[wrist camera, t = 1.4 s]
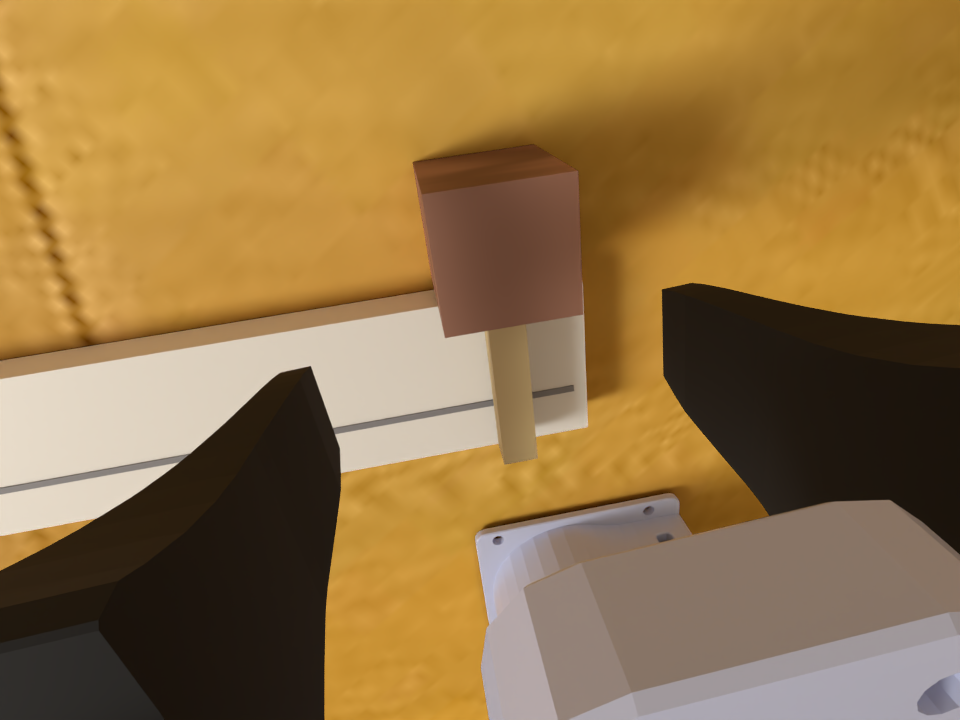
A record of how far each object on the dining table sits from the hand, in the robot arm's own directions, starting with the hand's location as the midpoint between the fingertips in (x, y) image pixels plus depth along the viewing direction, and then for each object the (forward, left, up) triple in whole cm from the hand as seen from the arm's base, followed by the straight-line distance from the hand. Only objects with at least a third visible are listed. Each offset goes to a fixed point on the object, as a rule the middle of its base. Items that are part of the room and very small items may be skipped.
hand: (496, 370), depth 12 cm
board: (+7, +5, -10) cm, 13 cm away
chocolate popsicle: (-1, +2, -10) cm, 10 cm away
